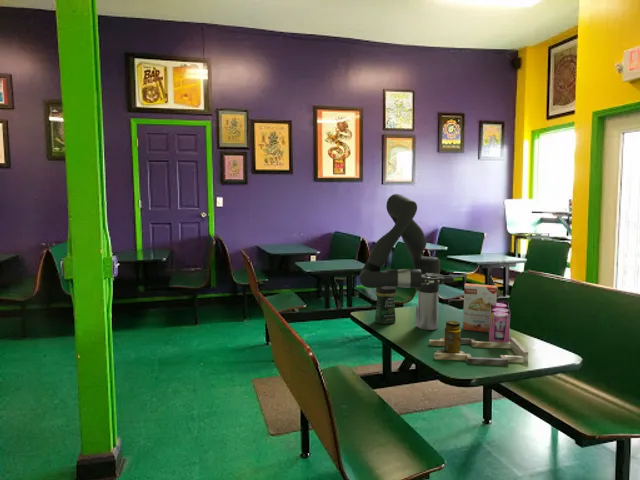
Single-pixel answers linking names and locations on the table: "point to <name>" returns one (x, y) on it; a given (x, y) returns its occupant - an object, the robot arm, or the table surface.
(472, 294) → the cracker box
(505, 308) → the gum box
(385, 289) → the coffee jar
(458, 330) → the condiment
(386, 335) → the table surface
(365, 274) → the robot arm
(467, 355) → the lane
